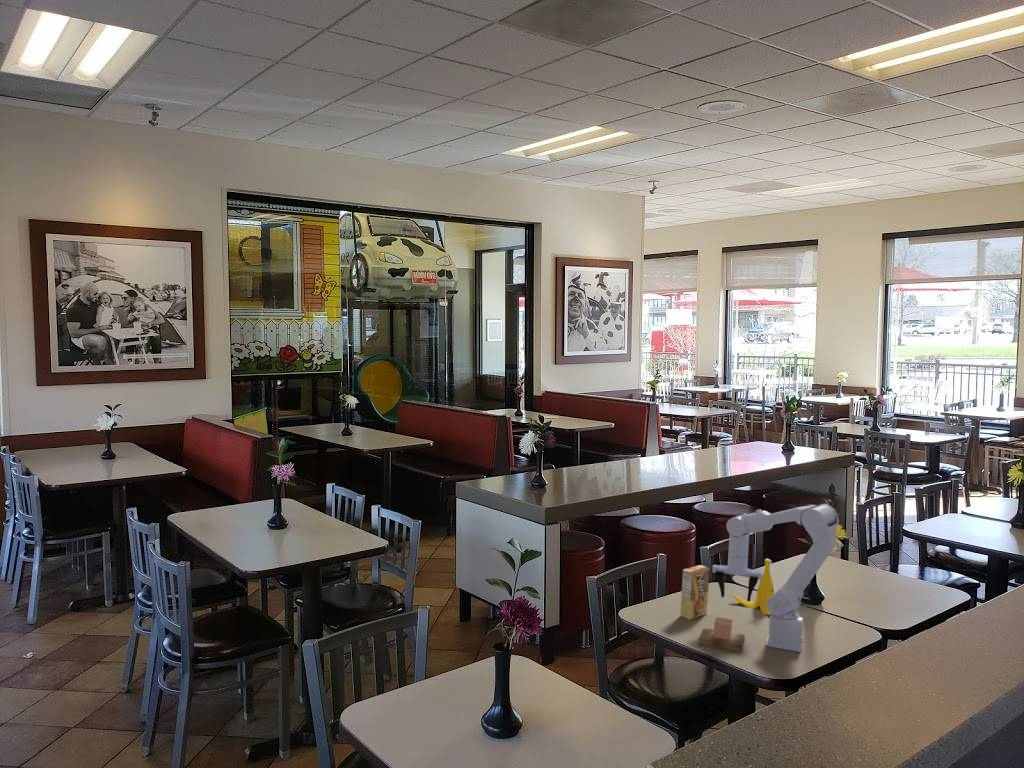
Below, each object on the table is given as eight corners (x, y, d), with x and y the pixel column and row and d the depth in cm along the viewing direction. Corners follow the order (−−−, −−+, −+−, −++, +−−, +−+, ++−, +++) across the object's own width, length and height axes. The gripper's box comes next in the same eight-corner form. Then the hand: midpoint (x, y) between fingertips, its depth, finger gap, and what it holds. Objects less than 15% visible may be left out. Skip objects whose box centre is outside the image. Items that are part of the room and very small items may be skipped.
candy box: (696, 610, 250) (699, 564, 249) (707, 614, 247) (710, 567, 246) (679, 616, 245) (682, 569, 243) (690, 620, 241) (692, 572, 240)
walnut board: (744, 641, 226) (745, 634, 226) (741, 652, 219) (742, 645, 219) (703, 634, 231) (703, 627, 231) (699, 644, 224) (699, 637, 223)
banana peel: (786, 602, 260) (789, 554, 258) (780, 622, 243) (783, 570, 241) (736, 594, 267) (739, 546, 265) (726, 612, 250) (729, 561, 248)
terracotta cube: (731, 634, 226) (732, 619, 226) (729, 640, 222) (730, 625, 222) (715, 631, 228) (716, 617, 228) (713, 637, 224) (714, 622, 224)
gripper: (764, 554, 235) (761, 597, 236) (715, 548, 241) (713, 590, 242) (762, 561, 229) (759, 605, 230) (712, 554, 234) (710, 597, 235)
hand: (735, 598), depth 235 cm, fingers open, 7 cm apart
